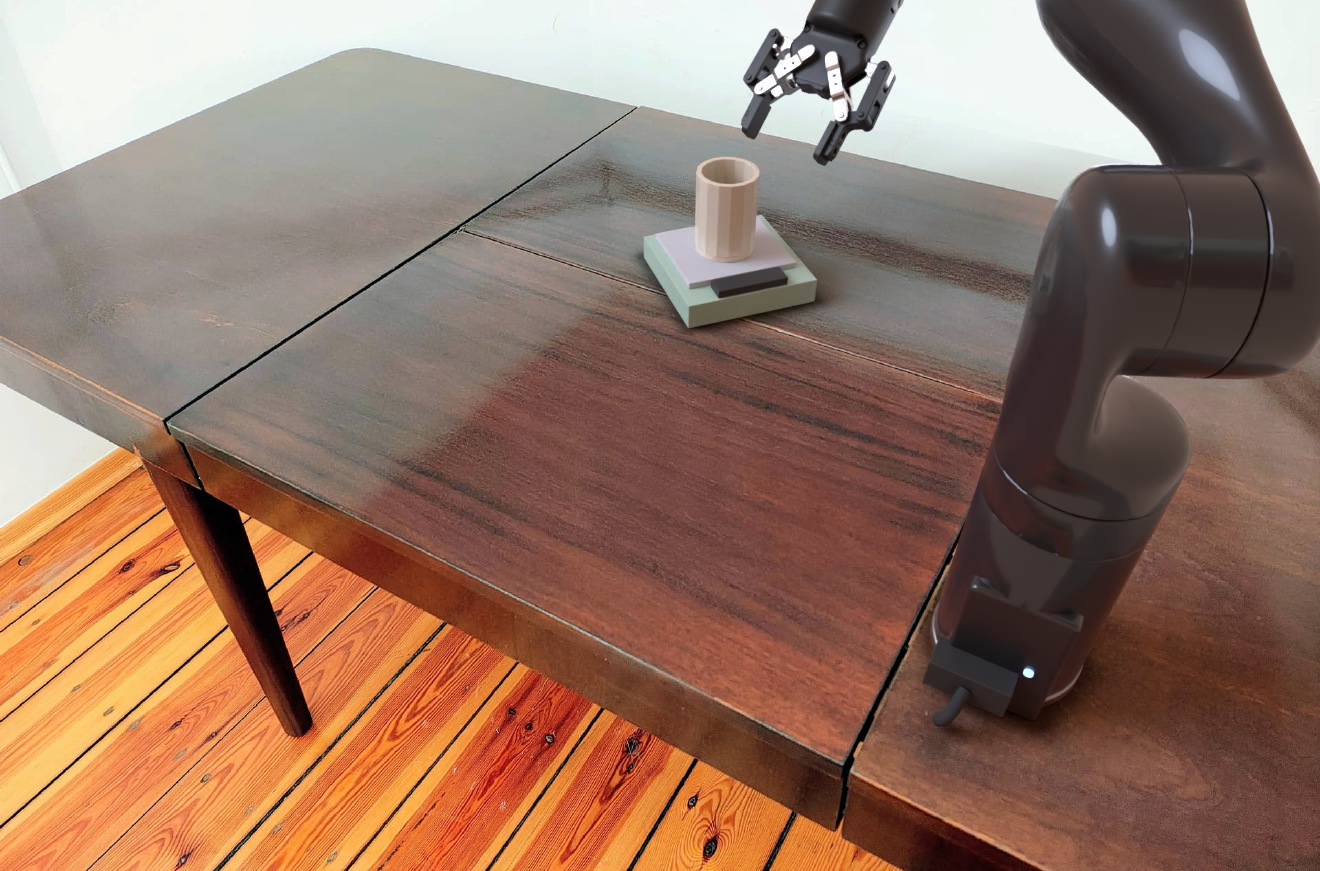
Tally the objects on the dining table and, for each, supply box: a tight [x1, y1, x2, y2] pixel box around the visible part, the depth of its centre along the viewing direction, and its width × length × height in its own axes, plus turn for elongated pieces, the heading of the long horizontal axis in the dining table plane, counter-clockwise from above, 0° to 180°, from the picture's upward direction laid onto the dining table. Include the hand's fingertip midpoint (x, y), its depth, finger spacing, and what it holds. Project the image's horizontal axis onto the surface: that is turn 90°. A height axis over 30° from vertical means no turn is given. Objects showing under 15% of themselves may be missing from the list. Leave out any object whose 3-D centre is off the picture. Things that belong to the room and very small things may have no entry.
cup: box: [694, 156, 761, 263], centre depth 89 cm, size 6×6×8 cm
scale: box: [643, 214, 818, 329], centre depth 92 cm, size 13×13×3 cm
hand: (782, 148), depth 91 cm, fingers open, 8 cm apart
